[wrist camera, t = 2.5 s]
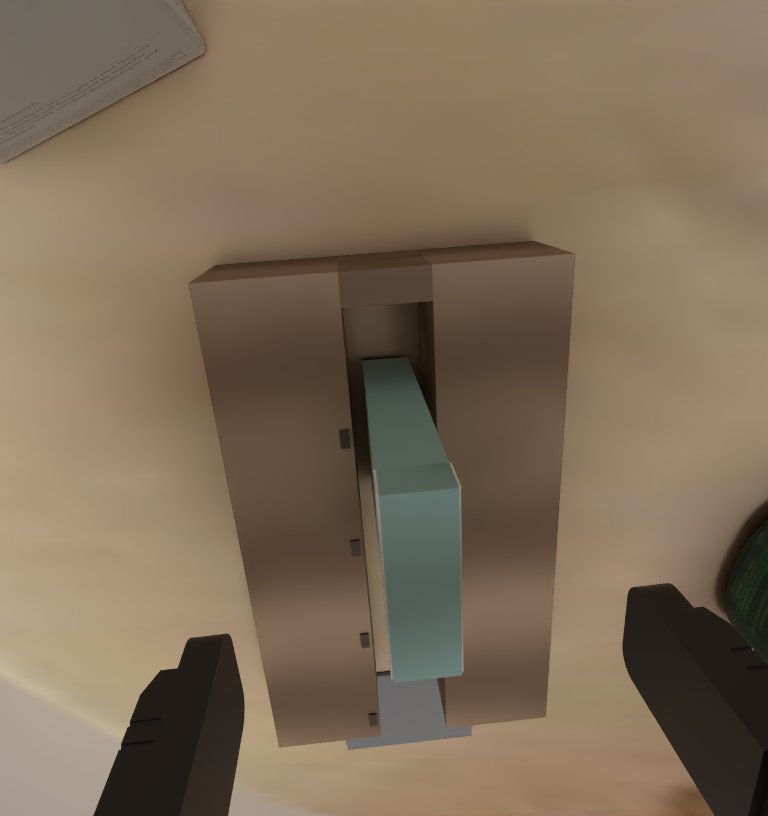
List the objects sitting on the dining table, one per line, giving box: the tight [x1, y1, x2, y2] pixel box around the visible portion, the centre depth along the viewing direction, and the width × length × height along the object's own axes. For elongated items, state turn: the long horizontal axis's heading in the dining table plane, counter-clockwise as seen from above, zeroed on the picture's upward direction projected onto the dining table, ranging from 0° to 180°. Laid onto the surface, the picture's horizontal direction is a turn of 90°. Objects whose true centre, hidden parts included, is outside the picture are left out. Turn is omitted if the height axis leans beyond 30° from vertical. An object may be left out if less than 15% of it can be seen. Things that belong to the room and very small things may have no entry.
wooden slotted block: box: [189, 241, 575, 748], centre depth 20 cm, size 18×11×4 cm, turn 4°
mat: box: [347, 672, 471, 750], centre depth 26 cm, size 4×6×1 cm
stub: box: [362, 357, 463, 683], centre depth 16 cm, size 5×2×9 cm, turn 4°
